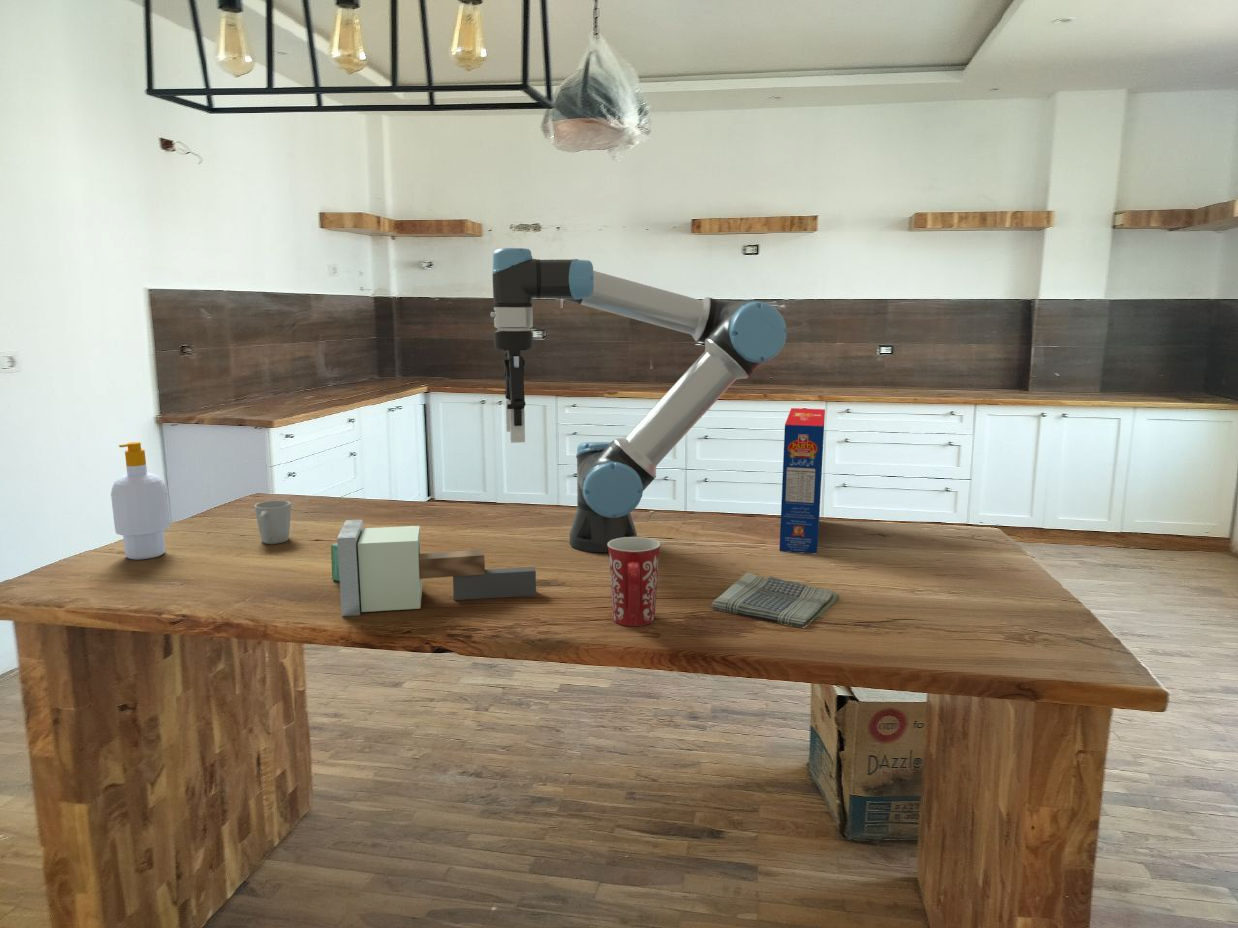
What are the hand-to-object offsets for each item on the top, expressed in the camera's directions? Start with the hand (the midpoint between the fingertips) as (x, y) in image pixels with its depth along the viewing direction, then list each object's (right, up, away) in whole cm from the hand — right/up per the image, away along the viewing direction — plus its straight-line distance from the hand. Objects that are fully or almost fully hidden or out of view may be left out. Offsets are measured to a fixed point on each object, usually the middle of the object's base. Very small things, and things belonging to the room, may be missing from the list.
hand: (515, 436), depth 171 cm
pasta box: (+63, -22, +28) cm, 72 cm away
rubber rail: (-2, -30, -13) cm, 33 cm away
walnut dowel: (-12, -26, -16) cm, 32 cm away
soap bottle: (-80, -25, +10) cm, 84 cm away
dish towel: (+49, -31, -16) cm, 61 cm away
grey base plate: (-27, -31, -18) cm, 44 cm away
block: (-20, -30, -17) cm, 40 cm away
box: (-27, -28, -5) cm, 40 cm away
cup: (-57, -23, +20) cm, 64 cm away
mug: (+23, -33, -26) cm, 48 cm away
